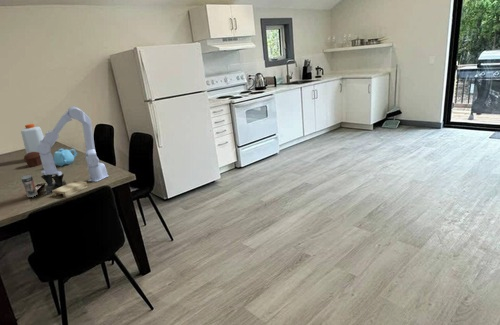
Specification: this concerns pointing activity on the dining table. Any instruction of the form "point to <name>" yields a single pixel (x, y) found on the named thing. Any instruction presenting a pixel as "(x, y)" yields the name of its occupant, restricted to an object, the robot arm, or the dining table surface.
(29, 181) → the beer can
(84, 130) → the robot arm
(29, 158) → the muffin
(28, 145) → the plastic bottle
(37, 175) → the dining table surface
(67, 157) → the teapot
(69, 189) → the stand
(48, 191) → the housing
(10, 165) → the dining table surface
